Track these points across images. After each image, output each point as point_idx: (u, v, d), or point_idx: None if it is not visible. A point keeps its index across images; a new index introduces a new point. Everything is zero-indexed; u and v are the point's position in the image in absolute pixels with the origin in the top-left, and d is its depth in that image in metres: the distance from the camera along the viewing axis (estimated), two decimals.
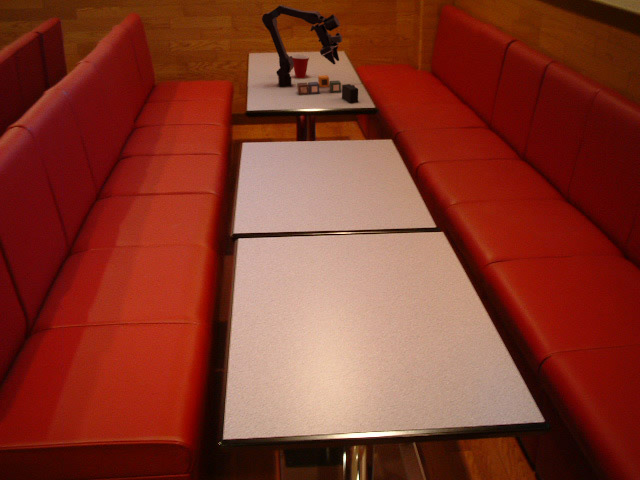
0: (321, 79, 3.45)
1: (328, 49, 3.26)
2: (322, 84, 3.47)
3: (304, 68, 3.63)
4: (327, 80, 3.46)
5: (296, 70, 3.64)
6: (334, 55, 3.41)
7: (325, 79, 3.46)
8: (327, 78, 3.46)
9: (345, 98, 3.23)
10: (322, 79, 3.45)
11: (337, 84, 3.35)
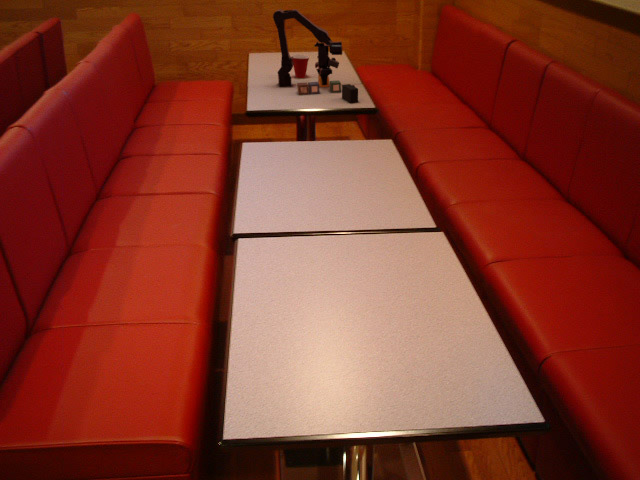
0: (321, 79, 3.45)
1: (330, 72, 3.37)
2: (322, 84, 3.47)
3: (304, 68, 3.63)
4: (327, 80, 3.46)
5: (296, 70, 3.64)
6: None
7: None
8: (327, 78, 3.46)
9: (345, 98, 3.23)
10: None
11: (337, 84, 3.35)
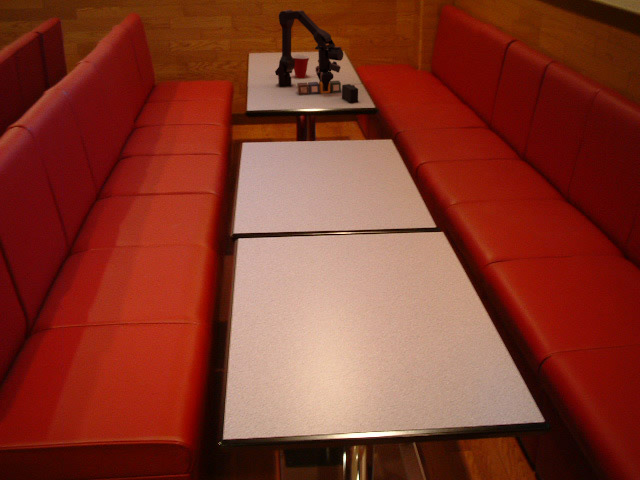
0: (322, 85, 3.34)
1: (331, 76, 3.25)
2: (323, 91, 3.35)
3: (304, 68, 3.63)
4: (328, 86, 3.35)
5: (296, 70, 3.64)
6: (321, 79, 3.39)
7: None
8: None
9: (345, 98, 3.23)
10: None
11: (337, 84, 3.35)
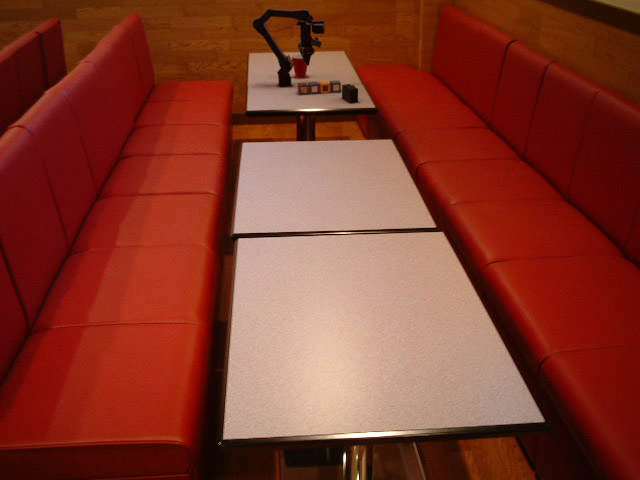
0: (322, 85, 3.34)
1: (312, 51, 3.33)
2: (323, 91, 3.35)
3: (304, 68, 3.63)
4: (328, 86, 3.35)
5: (296, 70, 3.64)
6: None
7: (326, 85, 3.34)
8: (328, 84, 3.34)
9: (345, 98, 3.23)
10: (323, 85, 3.34)
11: (337, 84, 3.35)
